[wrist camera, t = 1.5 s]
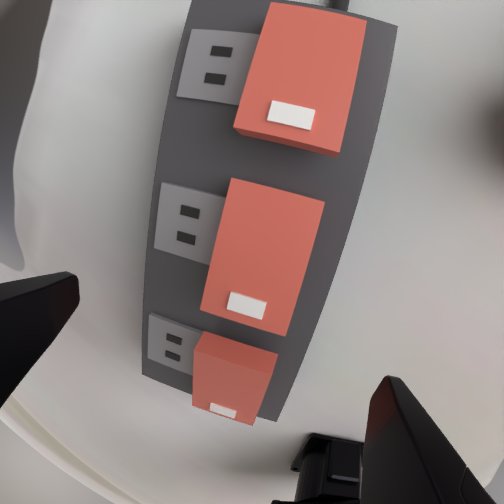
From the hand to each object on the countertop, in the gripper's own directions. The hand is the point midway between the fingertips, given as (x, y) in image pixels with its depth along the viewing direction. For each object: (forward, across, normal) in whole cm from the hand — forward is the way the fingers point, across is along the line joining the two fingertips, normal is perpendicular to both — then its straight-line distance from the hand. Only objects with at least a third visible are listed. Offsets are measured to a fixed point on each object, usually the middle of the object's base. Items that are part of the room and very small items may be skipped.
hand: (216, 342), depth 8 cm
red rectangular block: (+6, 0, +8) cm, 11 cm away
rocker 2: (+7, 0, 0) cm, 7 cm away
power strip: (+12, +2, -5) cm, 13 cm away
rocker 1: (+7, 0, -8) cm, 10 cm away
